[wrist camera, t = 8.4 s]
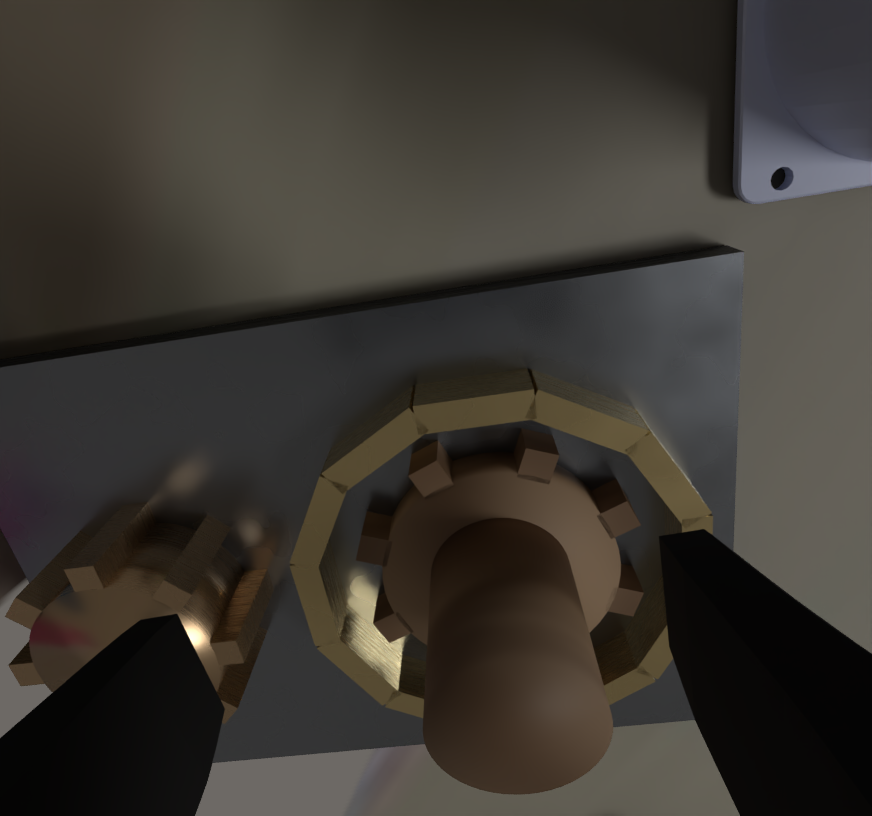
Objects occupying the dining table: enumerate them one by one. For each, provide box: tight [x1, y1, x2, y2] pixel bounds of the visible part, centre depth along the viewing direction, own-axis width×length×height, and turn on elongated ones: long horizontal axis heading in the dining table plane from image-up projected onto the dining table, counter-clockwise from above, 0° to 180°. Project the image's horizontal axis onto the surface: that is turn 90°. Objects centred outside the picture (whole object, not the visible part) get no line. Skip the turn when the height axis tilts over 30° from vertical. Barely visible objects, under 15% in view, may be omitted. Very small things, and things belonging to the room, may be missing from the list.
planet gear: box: [356, 428, 644, 794], centre depth 16 cm, size 8×8×6 cm
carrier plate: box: [0, 245, 744, 763], centre depth 18 cm, size 22×16×4 cm
